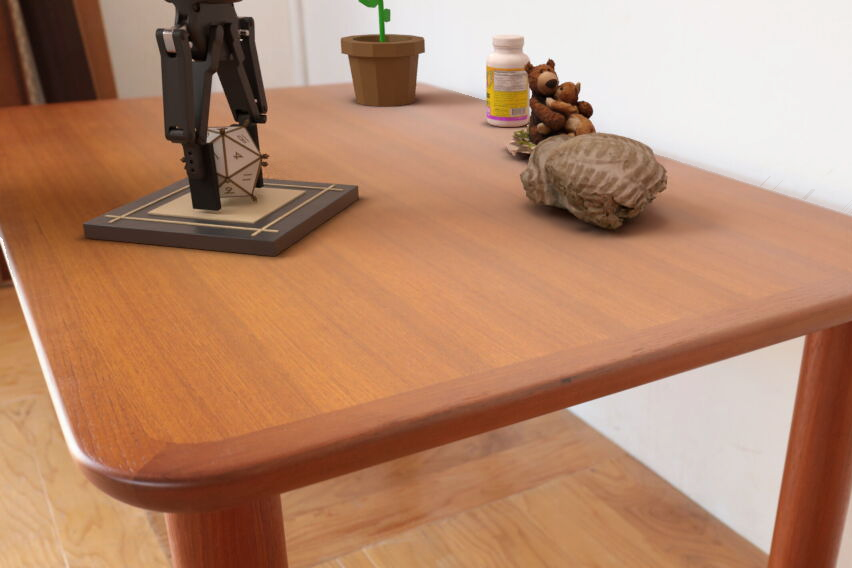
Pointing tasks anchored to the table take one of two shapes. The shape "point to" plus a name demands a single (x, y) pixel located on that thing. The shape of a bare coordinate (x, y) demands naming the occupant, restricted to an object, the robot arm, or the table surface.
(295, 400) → the table surface
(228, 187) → the game die
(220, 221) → the game board
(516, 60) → the supplement bottle
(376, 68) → the flowerpot
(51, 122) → the table surface
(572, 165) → the fossil
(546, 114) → the bear figurine
